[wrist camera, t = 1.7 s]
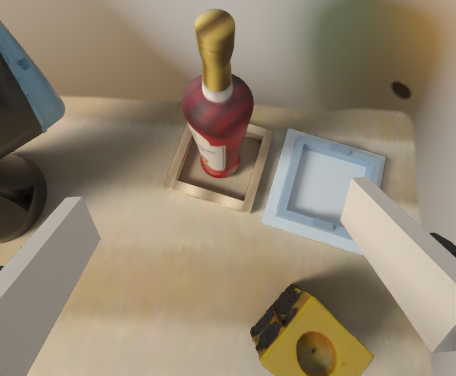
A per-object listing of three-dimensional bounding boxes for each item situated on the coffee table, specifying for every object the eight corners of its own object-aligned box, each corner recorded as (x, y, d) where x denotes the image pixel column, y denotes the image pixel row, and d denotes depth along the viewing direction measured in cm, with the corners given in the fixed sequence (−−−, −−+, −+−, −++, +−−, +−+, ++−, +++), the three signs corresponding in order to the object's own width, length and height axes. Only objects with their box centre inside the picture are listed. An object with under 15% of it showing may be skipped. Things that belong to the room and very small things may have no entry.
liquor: (191, 159, 43) (136, 21, 16) (222, 134, 45) (219, -36, 17) (219, 189, 42) (209, 95, 15) (249, 162, 44) (292, 29, 16)
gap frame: (165, 188, 42) (163, 185, 40) (194, 113, 45) (193, 107, 44) (248, 214, 42) (250, 212, 40) (272, 136, 45) (274, 131, 43)
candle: (296, 383, 36) (323, 435, 27) (247, 331, 38) (255, 362, 28) (339, 329, 38) (379, 359, 28) (290, 281, 39) (312, 294, 30)
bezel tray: (260, 223, 41) (264, 221, 38) (287, 129, 45) (292, 120, 42) (365, 256, 40) (378, 257, 37) (383, 157, 44) (396, 151, 41)
